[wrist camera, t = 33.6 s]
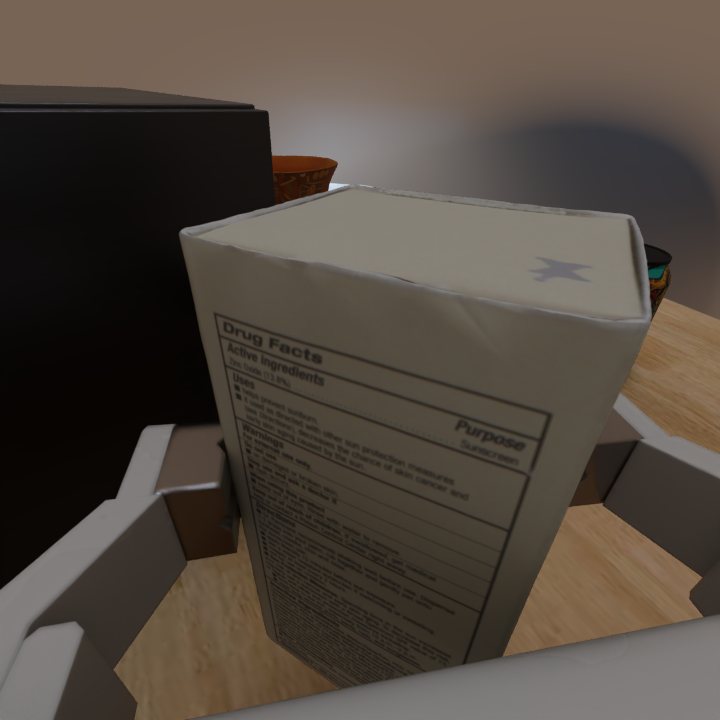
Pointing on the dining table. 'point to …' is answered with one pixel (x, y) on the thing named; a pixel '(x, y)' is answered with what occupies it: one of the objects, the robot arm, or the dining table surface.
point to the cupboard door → (104, 295)
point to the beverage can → (657, 274)
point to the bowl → (301, 176)
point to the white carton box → (410, 408)
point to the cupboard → (103, 99)
